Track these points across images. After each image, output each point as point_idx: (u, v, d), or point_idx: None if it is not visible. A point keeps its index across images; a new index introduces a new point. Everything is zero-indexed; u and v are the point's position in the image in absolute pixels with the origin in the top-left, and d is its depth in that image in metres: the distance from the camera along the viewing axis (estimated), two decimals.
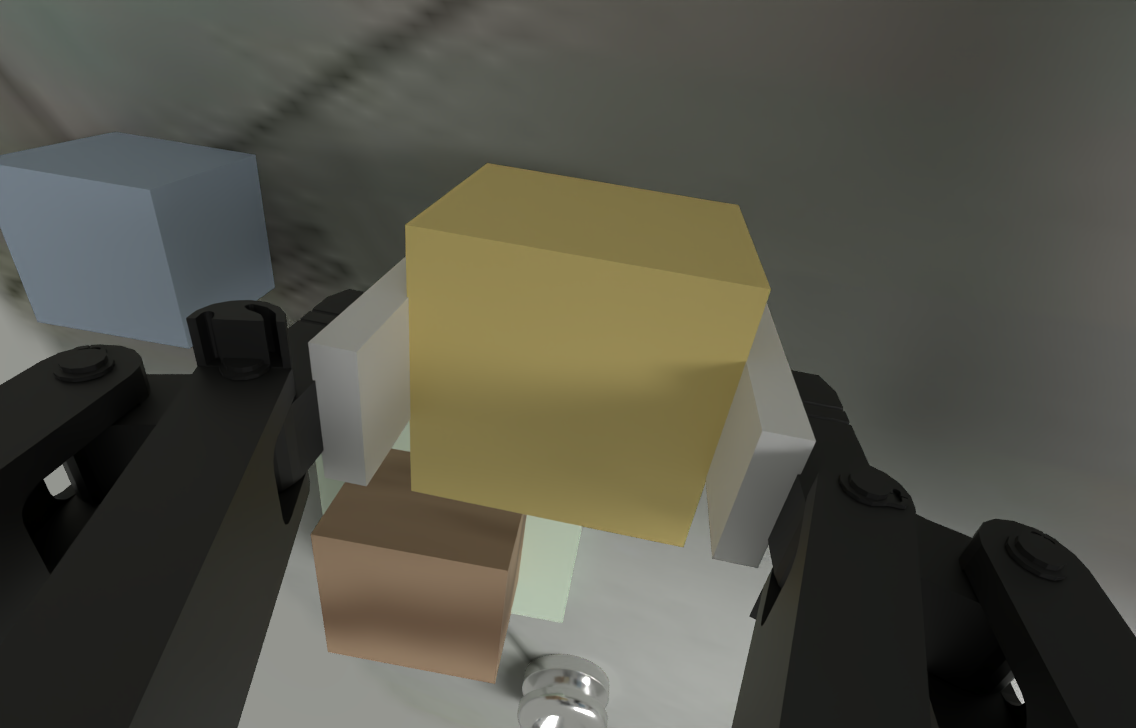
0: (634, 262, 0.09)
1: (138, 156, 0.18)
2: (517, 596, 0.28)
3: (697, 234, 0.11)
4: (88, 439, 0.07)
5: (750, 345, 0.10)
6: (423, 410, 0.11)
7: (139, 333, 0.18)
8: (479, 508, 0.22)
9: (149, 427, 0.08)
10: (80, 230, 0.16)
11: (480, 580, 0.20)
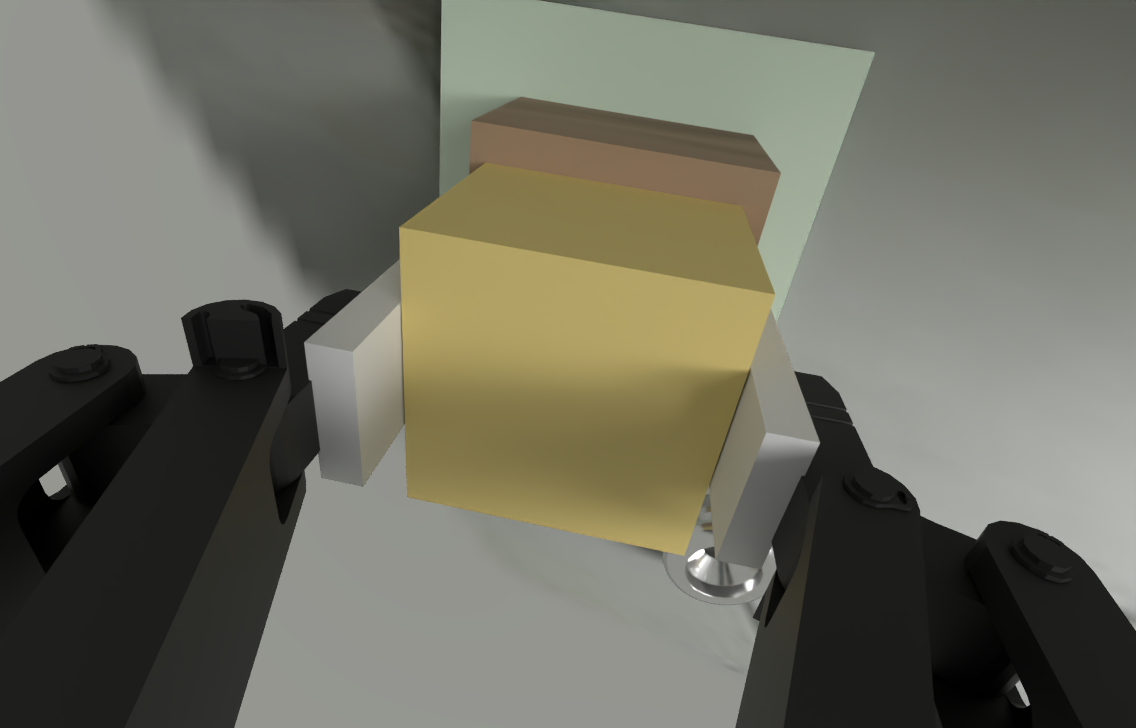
0: (634, 266, 0.09)
1: None
2: None
3: (700, 236, 0.11)
4: (84, 439, 0.07)
5: (754, 351, 0.09)
6: (419, 416, 0.11)
7: None
8: (702, 140, 0.15)
9: (144, 427, 0.07)
10: None
11: (729, 200, 0.13)
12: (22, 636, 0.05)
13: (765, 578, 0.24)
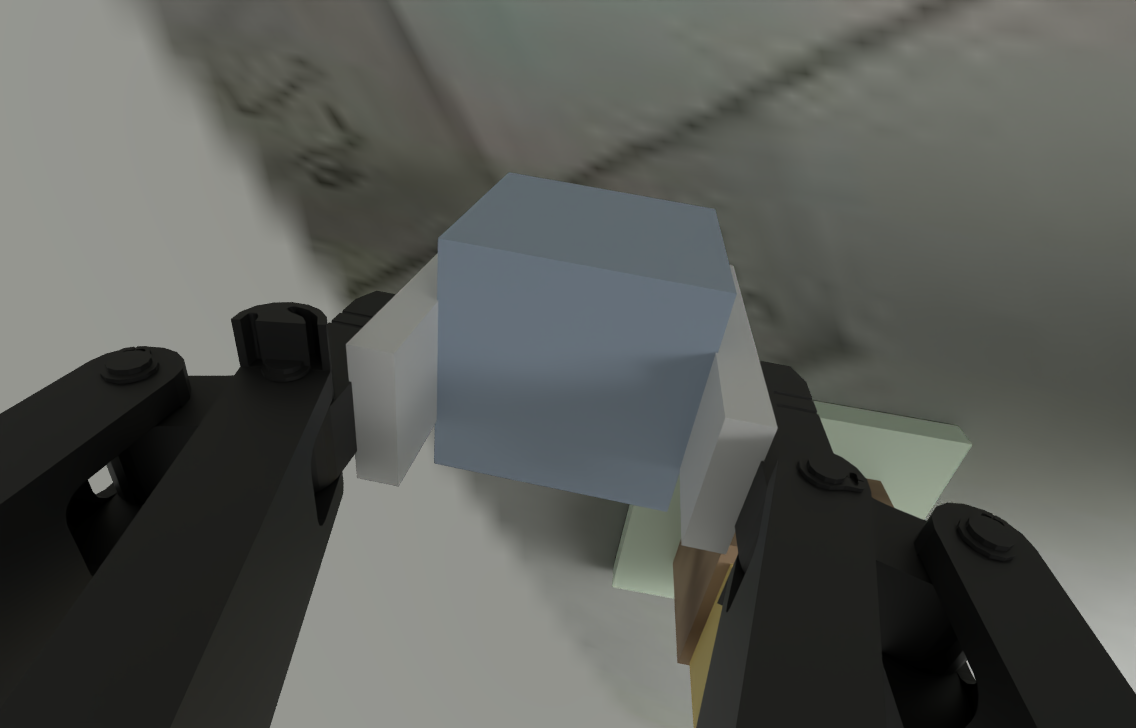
0: None
1: (605, 218, 0.12)
2: None
3: None
4: (131, 441, 0.07)
5: None
6: None
7: (594, 487, 0.12)
8: None
9: (193, 428, 0.08)
10: (574, 347, 0.10)
11: None
12: (74, 631, 0.05)
13: None
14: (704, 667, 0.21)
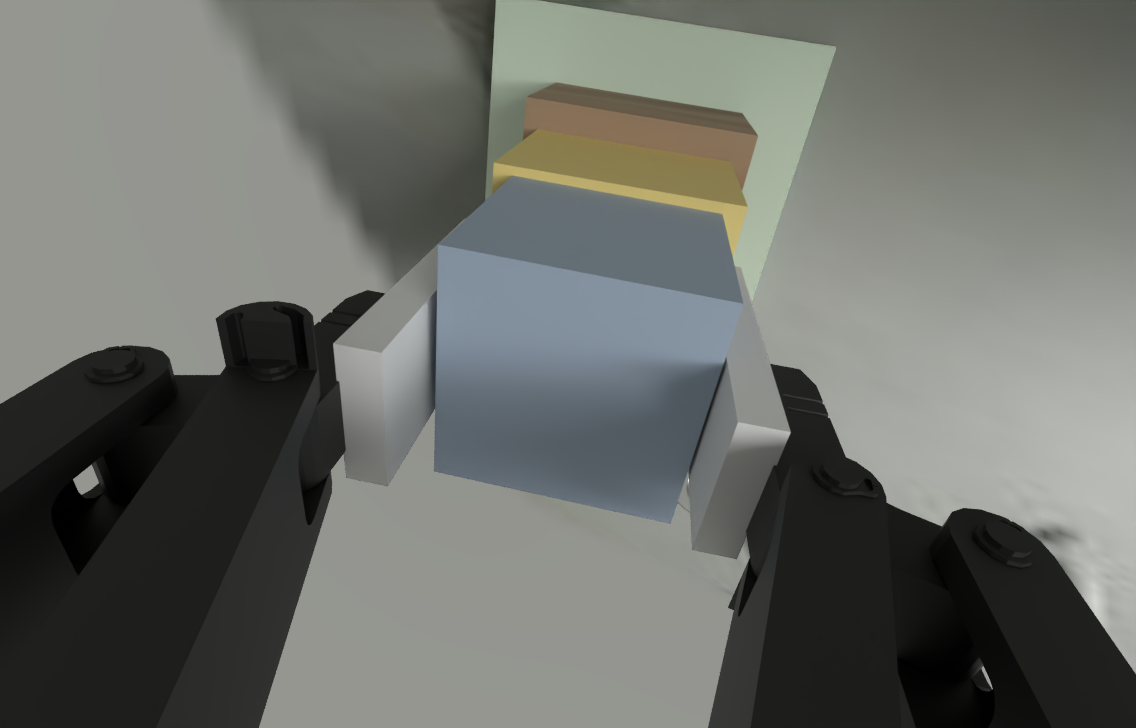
0: (653, 188, 0.13)
1: (609, 223, 0.11)
2: None
3: (698, 176, 0.15)
4: (116, 440, 0.07)
5: (734, 249, 0.14)
6: None
7: (597, 498, 0.12)
8: (700, 114, 0.19)
9: (178, 428, 0.08)
10: (576, 357, 0.10)
11: (720, 157, 0.17)
12: (58, 632, 0.05)
13: None
14: None
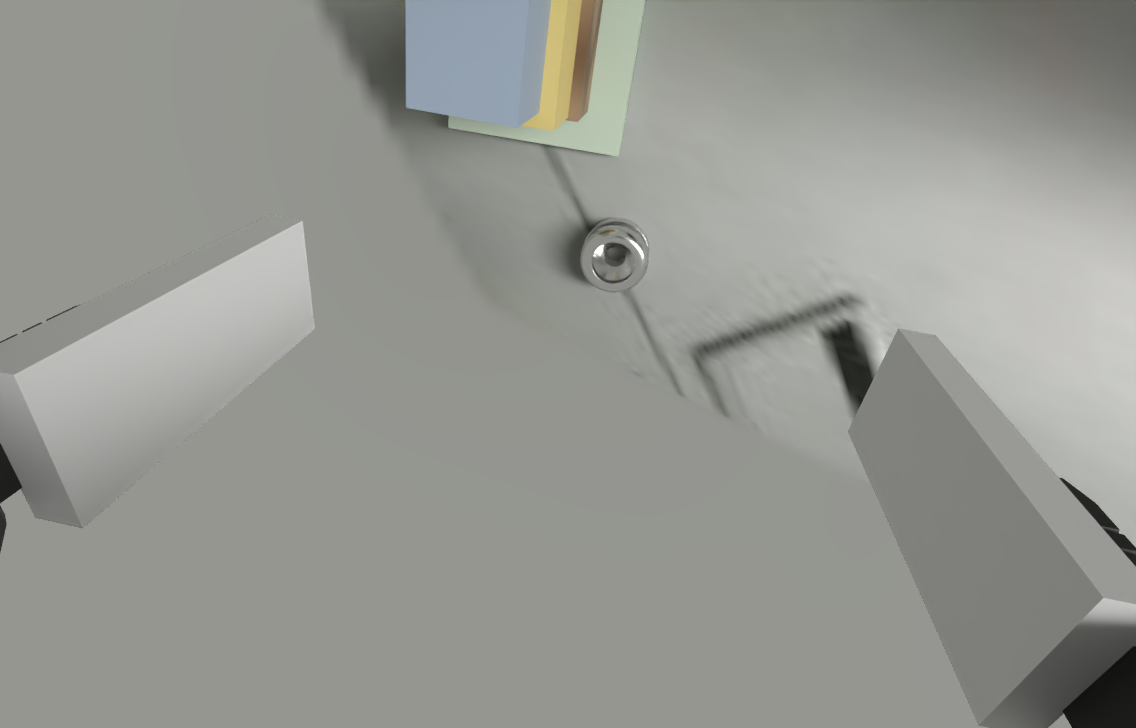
0: None
1: None
2: (586, 128, 0.39)
3: None
4: None
5: (565, 19, 0.27)
6: None
7: (482, 115, 0.25)
8: None
9: None
10: (466, 27, 0.23)
11: None
12: None
13: (636, 265, 0.41)
14: None
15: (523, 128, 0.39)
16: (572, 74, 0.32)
